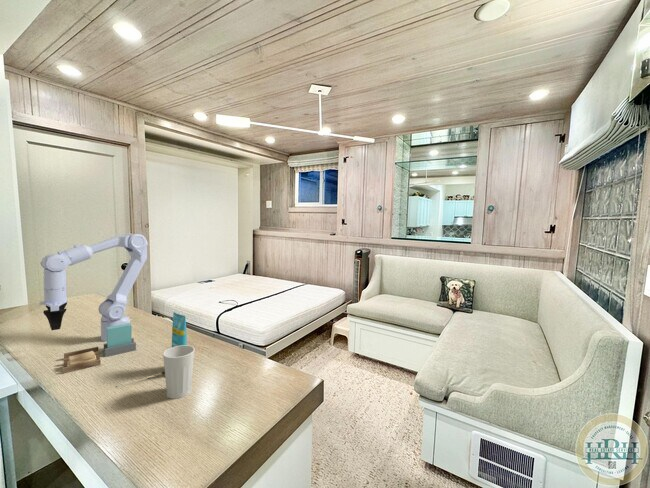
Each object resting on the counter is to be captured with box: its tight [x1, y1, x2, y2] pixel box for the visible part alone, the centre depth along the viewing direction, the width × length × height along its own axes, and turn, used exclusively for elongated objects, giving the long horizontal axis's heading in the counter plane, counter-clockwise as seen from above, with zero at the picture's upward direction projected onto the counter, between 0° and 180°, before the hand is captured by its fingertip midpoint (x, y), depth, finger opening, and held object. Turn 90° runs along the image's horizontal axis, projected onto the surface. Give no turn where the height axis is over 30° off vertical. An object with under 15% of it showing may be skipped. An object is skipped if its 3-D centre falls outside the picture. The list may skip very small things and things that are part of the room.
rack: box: [62, 346, 101, 375], centre depth 93 cm, size 9×13×3 cm
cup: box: [162, 344, 196, 400], centre depth 80 cm, size 8×8×12 cm
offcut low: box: [67, 355, 96, 367], centre depth 91 cm, size 7×4×2 cm, turn 132°
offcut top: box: [69, 351, 95, 365], centre depth 91 cm, size 6×3×2 cm, turn 140°
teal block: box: [106, 322, 133, 348], centre depth 102 cm, size 7×3×9 cm, turn 132°
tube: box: [171, 311, 188, 348], centre depth 90 cm, size 7×5×19 cm, turn 61°
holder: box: [103, 337, 137, 358], centre depth 102 cm, size 9×7×4 cm
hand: (56, 326), depth 98 cm, fingers open, 7 cm apart
